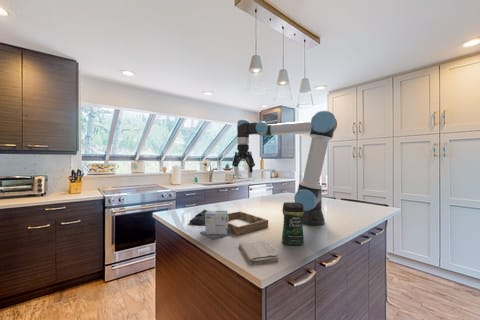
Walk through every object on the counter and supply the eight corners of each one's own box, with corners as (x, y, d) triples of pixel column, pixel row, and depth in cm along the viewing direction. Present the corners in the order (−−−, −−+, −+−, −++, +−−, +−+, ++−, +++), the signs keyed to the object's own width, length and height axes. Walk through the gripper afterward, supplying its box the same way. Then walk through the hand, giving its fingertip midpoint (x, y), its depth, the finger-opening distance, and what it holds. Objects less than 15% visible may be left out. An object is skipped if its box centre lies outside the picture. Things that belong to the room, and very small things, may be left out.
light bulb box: (227, 230, 115) (227, 210, 115) (226, 235, 108) (226, 213, 108) (208, 230, 116) (208, 209, 116) (204, 234, 109) (204, 212, 109)
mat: (232, 234, 111) (232, 233, 111) (212, 239, 103) (212, 238, 103) (219, 228, 120) (219, 227, 120) (200, 233, 113) (200, 231, 113)
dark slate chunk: (184, 225, 127) (184, 217, 127) (197, 215, 149) (197, 208, 149) (210, 226, 125) (210, 218, 125) (219, 216, 146) (219, 209, 146)
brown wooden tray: (268, 227, 123) (268, 219, 123) (238, 235, 109) (238, 227, 109) (240, 217, 143) (240, 211, 143) (211, 223, 129) (211, 216, 129)
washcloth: (250, 266, 78) (250, 258, 78) (237, 247, 96) (237, 240, 96) (280, 262, 82) (280, 254, 82) (263, 244, 99) (263, 237, 99)
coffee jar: (283, 246, 96) (283, 204, 96) (280, 239, 104) (280, 200, 104) (305, 246, 96) (305, 204, 96) (301, 239, 104) (301, 200, 103)
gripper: (227, 145, 148) (227, 176, 148) (251, 142, 128) (251, 178, 128) (235, 145, 153) (235, 175, 153) (260, 143, 133) (260, 178, 133)
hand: (243, 177), depth 141 cm, fingers open, 13 cm apart
